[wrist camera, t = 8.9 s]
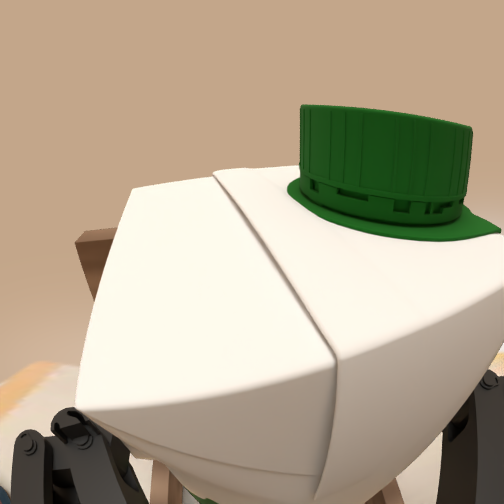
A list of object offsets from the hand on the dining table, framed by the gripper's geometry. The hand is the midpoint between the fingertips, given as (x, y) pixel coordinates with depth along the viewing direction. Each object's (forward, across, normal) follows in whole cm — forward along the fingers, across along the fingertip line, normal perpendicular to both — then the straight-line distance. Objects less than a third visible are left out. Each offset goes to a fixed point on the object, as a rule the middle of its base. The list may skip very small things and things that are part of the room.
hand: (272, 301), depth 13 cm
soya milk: (-4, 0, -12) cm, 13 cm away
